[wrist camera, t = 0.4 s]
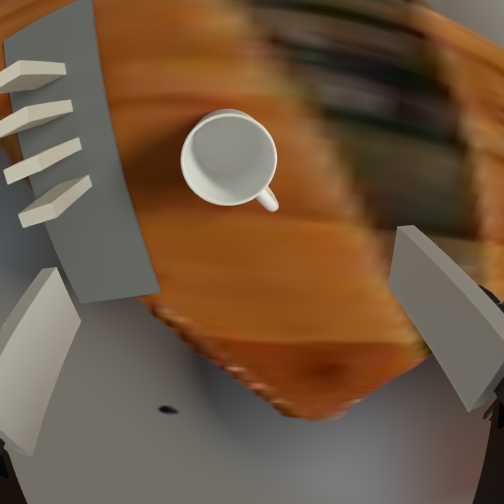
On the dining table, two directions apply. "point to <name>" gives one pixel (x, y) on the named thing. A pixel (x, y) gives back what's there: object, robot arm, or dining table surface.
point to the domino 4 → (54, 201)
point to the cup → (230, 159)
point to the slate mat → (82, 160)
